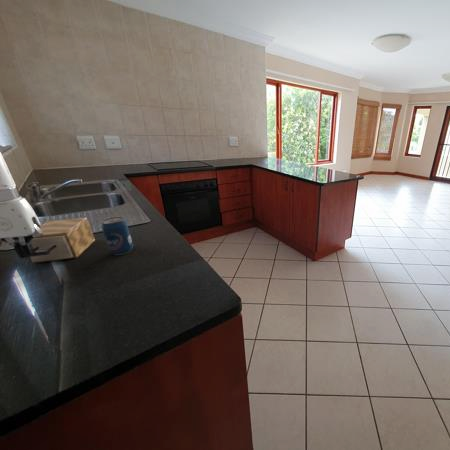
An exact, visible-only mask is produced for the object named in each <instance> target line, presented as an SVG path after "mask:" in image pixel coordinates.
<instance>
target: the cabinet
mask: <svg viewBox="0 0 450 450" xmlns="http://www.w3.org/2000/svg"><path fill="white" fill-rule="evenodd" d="M40 230H41V231H42V232H43V235H41V236H39V237H46V236H56V235H65V236H66V239H67V241H68V243H69V246H70V248H71V250H72V253H73V255H74V256H73V257H71V258H63V259H55V260H46V261H38V262H33V263H34V264H36V263H43V262H45V263H46V262H52V261H60V260H69V259H70V260H71V259H76V258H77V259H78V257H79V256H80V255H82V254H83V253H84V251H86V250H87V249H88V248H89V247H90V246H91V245H92V244H93V243H94V242H95V241H96V239H95V236H94V234H93V231H92V227H91V225H90V223H89V219H88V218H87V217H78V218H77V217H76V218H66V219H65V218H64V219H53V220H47V221H45V222H43V223H42V224H41V229H40Z"/></svg>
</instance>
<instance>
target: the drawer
mask: <svg viewBox="0 0 450 450" xmlns="http://www.w3.org/2000/svg"><path fill="white" fill-rule="evenodd" d="M31 244H32V246H33V248H34V252H35V253H34V254H32V255H31V256H30V257H29V258H30V260H31V262H32V263H34V262H37V263H39V262H38V261H45V262H47V261H46V260H53V261H56V260H55V259H61V260H64V259H63V258H70V259H72V258H71V257H73V256H74V255H73V253H72V250H71V248H70V246H69V243H68V241H67V239H66V236H65V235H60V236H46V237H36V238H33V239H32V241H31Z"/></svg>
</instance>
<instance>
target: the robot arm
mask: <svg viewBox="0 0 450 450" xmlns="http://www.w3.org/2000/svg"><path fill="white" fill-rule="evenodd" d="M19 191H20V190H19V189H18V187H17V185H16V183H15V181H14V178H13V175H12V173H11V172H10V169H9V166H8V165H7V162H6V160H5V157H4V156H3V154H2V152H1V151H0V242H1V241H2V242H4V243H7V244H8V245H9V247H13V249H14V250H15V252H16V254H17V256H18V257H19V259H24V258H25V259H27V258H28V259H29V258H30V256H31V255H32V254H34V253H35V252H34V248H33V246H32V244H31V241H32V239H33V238H36V237H39V236H41V235H43V232H42V231H41V230H40V229H41V225H42V224H41V222H40V220H39V218H38V216H37V213H36V211H35V210H34V208H33V207H32V206H31V203H29V201H28V200H27V199H26V198H25V197H22V195H21V193H20V192H19Z"/></svg>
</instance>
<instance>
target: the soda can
mask: <svg viewBox="0 0 450 450" xmlns="http://www.w3.org/2000/svg"><path fill="white" fill-rule="evenodd" d="M101 223H102V224H101V230H102V233H103V236H104V239H105V241H106V245H107V248H108V250H109V252H110V253H111V254H113V255H115V256H122V255H126V254H128V253H130V252H131V251H132V250H133V248H134V243H133V239H132V237H131V233H130V230H129V226H128V223H127V221H125V220H124V218H123V217H121V216H115V217H110V218H106V219H104V220H102V221H101Z"/></svg>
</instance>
